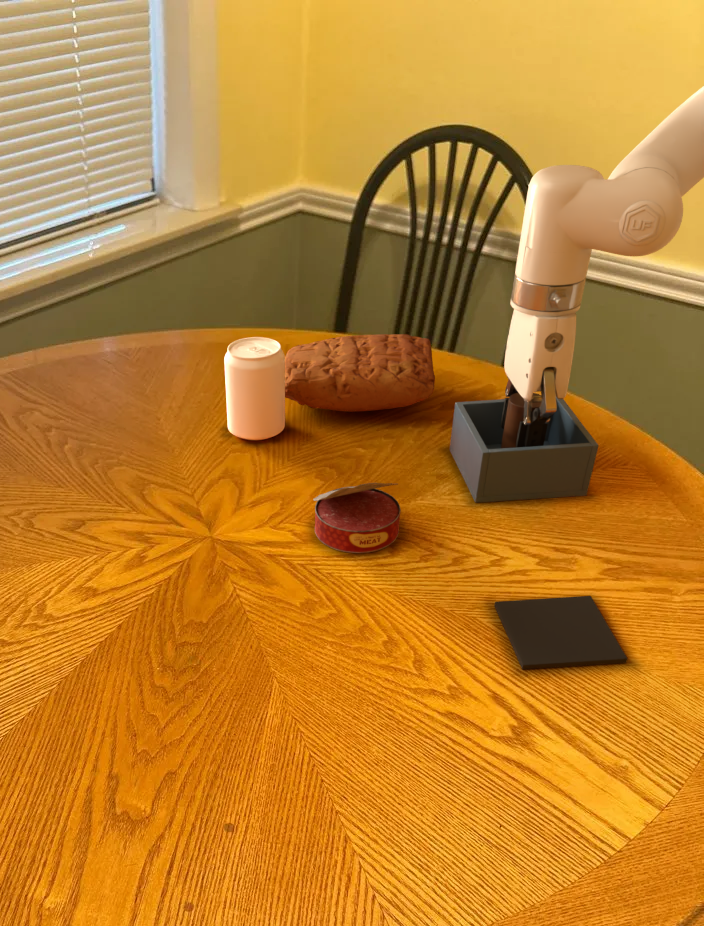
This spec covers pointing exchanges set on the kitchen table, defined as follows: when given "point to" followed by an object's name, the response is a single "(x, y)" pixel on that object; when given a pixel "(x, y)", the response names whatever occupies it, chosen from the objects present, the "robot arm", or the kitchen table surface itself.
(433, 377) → the inscribed clay slab
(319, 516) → the canned food
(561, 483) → the bin
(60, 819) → the kitchen table surface
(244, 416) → the beverage can
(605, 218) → the robot arm
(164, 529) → the kitchen table surface
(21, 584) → the kitchen table surface
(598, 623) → the mat
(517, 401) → the brown cylinder
